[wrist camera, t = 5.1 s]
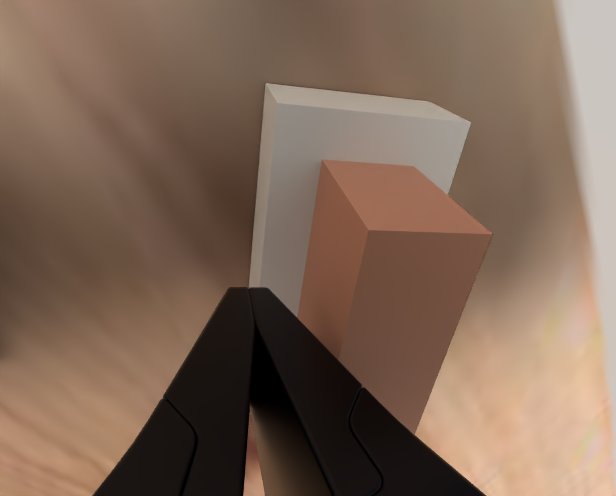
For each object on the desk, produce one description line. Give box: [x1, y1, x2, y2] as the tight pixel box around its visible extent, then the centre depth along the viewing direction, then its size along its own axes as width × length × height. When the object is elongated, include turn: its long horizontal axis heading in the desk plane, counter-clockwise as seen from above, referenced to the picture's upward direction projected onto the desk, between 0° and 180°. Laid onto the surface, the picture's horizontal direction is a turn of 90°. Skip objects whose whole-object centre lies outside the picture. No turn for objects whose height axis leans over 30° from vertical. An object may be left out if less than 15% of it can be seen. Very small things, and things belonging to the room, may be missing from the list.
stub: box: [249, 83, 493, 434], centre depth 10 cm, size 8×4×5 cm, turn 172°
